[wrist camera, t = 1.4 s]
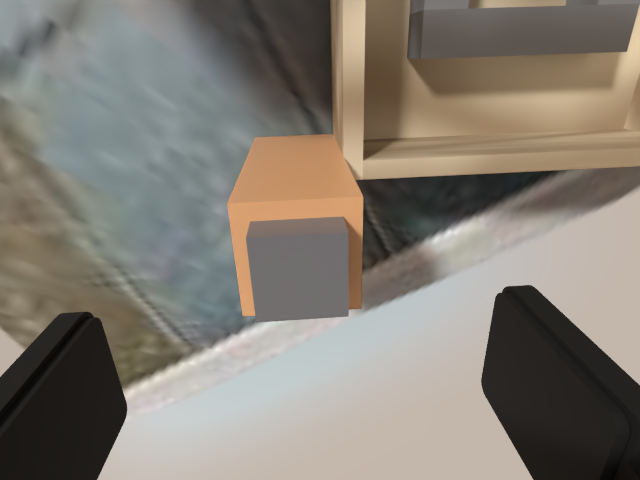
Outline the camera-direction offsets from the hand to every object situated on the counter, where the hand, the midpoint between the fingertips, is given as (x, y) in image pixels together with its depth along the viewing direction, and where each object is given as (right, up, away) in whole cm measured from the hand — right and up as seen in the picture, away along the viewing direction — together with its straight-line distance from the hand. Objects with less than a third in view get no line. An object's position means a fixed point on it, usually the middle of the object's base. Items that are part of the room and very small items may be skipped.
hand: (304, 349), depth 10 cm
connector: (-1, +6, +12) cm, 14 cm away
